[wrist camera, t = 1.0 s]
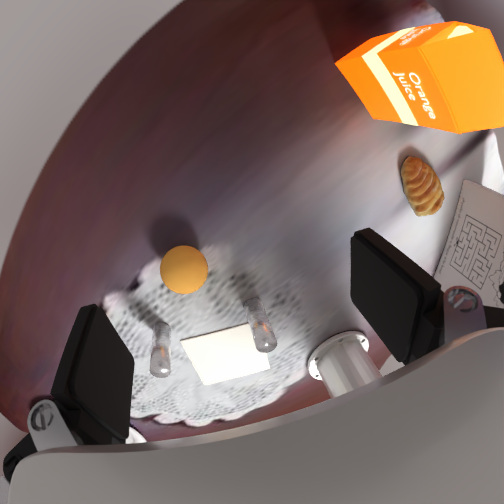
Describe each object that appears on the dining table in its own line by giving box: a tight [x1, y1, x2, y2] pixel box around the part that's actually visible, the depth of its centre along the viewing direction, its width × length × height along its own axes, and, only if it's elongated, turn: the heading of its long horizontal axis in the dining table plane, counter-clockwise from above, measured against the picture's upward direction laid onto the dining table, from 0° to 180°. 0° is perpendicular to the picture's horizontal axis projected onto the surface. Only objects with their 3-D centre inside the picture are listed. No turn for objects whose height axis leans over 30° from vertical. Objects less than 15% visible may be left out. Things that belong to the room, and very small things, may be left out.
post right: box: [244, 298, 277, 353], centre depth 36 cm, size 3×3×8 cm
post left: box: [150, 323, 171, 378], centre depth 35 cm, size 3×3×8 cm
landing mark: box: [181, 323, 270, 385], centre depth 43 cm, size 12×12×1 cm
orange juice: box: [335, 21, 504, 134], centre depth 19 cm, size 8×9×20 cm
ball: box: [160, 245, 208, 294], centre depth 32 cm, size 6×6×6 cm
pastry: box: [401, 156, 444, 216], centre depth 35 cm, size 9×7×4 cm
